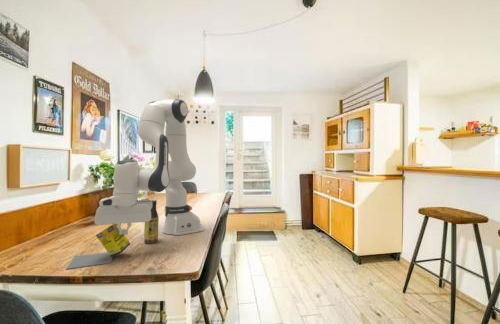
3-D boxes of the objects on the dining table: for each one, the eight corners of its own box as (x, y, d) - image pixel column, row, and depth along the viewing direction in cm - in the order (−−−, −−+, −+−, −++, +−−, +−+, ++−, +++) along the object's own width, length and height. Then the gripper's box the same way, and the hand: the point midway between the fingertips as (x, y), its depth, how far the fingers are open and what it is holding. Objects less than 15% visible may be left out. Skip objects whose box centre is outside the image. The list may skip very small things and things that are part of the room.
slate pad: (114, 252, 102) (114, 251, 102) (110, 263, 91) (110, 262, 91) (75, 257, 96) (75, 256, 96) (65, 269, 85) (65, 268, 85)
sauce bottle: (149, 245, 110) (149, 202, 110) (141, 242, 114) (141, 200, 114) (161, 240, 116) (161, 200, 116) (153, 238, 119) (153, 199, 119)
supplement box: (122, 252, 94) (106, 230, 92) (110, 257, 95) (94, 235, 93) (131, 243, 100) (116, 222, 98) (120, 248, 101) (105, 227, 99)
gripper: (152, 198, 104) (151, 230, 104) (97, 199, 95) (95, 234, 95) (153, 199, 98) (152, 233, 98) (94, 201, 90) (93, 238, 89)
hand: (123, 234), depth 96 cm, fingers closed
